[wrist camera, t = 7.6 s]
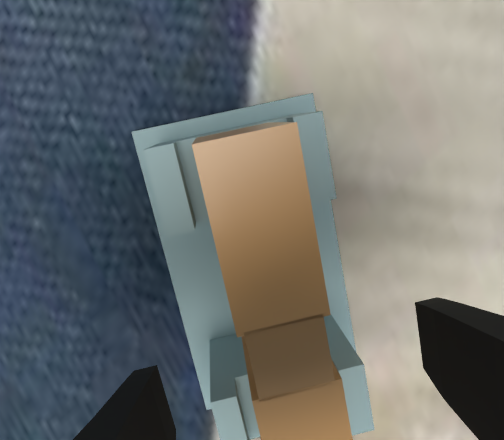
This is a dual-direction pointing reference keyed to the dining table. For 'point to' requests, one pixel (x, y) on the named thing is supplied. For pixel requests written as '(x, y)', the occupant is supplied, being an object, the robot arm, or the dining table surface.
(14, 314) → the dining table surface
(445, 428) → the dining table surface
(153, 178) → the stand
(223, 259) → the brown offset double block
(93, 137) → the dining table surface
